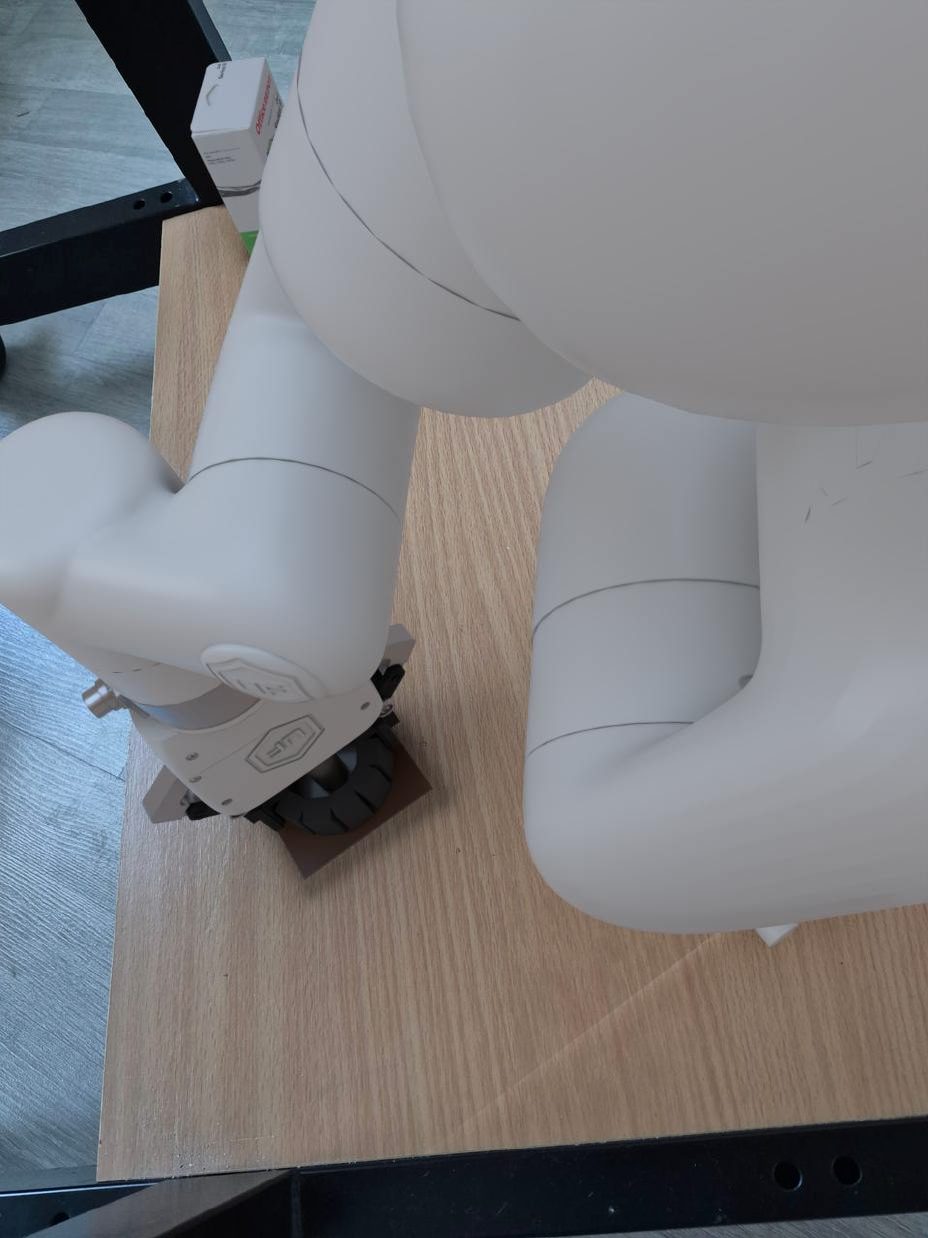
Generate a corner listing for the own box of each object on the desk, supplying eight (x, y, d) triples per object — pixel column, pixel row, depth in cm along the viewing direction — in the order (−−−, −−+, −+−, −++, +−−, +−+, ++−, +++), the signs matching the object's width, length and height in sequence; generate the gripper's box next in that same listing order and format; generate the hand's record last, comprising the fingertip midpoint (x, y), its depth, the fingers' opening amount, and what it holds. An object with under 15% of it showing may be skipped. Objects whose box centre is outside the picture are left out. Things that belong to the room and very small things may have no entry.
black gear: (416, 785, 59) (403, 770, 56) (311, 861, 58) (292, 848, 55) (354, 693, 62) (339, 674, 60) (254, 763, 61) (234, 746, 59)
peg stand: (438, 795, 60) (412, 760, 54) (312, 885, 59) (272, 860, 53) (363, 685, 64) (332, 642, 58) (245, 768, 63) (201, 732, 57)
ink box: (305, 252, 83) (250, 127, 73) (248, 259, 84) (186, 137, 74) (316, 179, 87) (265, 50, 76) (262, 186, 88) (205, 60, 77)
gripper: (57, 828, 41) (231, 910, 56) (407, 587, 43) (483, 730, 58) (-2, 693, 45) (177, 805, 60) (324, 476, 46) (416, 639, 62)
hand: (327, 767), depth 59 cm, fingers closed on black gear, 7 cm apart
